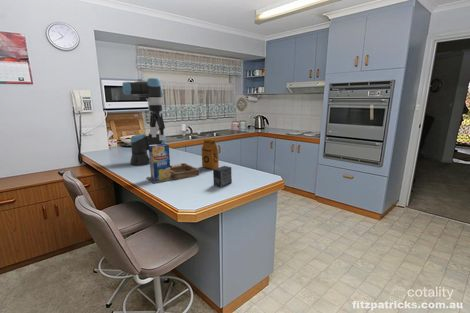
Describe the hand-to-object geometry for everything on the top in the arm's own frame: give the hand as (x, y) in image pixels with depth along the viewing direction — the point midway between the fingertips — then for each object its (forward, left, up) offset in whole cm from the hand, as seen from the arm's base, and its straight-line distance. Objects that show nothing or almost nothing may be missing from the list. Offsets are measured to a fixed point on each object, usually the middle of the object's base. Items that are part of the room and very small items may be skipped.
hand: (157, 138), depth 160 cm
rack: (-3, +16, -27) cm, 31 cm away
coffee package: (-4, +41, -27) cm, 49 cm away
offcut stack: (-11, +16, -27) cm, 33 cm away
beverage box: (0, 0, -26) cm, 26 cm away
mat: (0, 0, -27) cm, 27 cm away
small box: (+33, +27, -27) cm, 51 cm away
